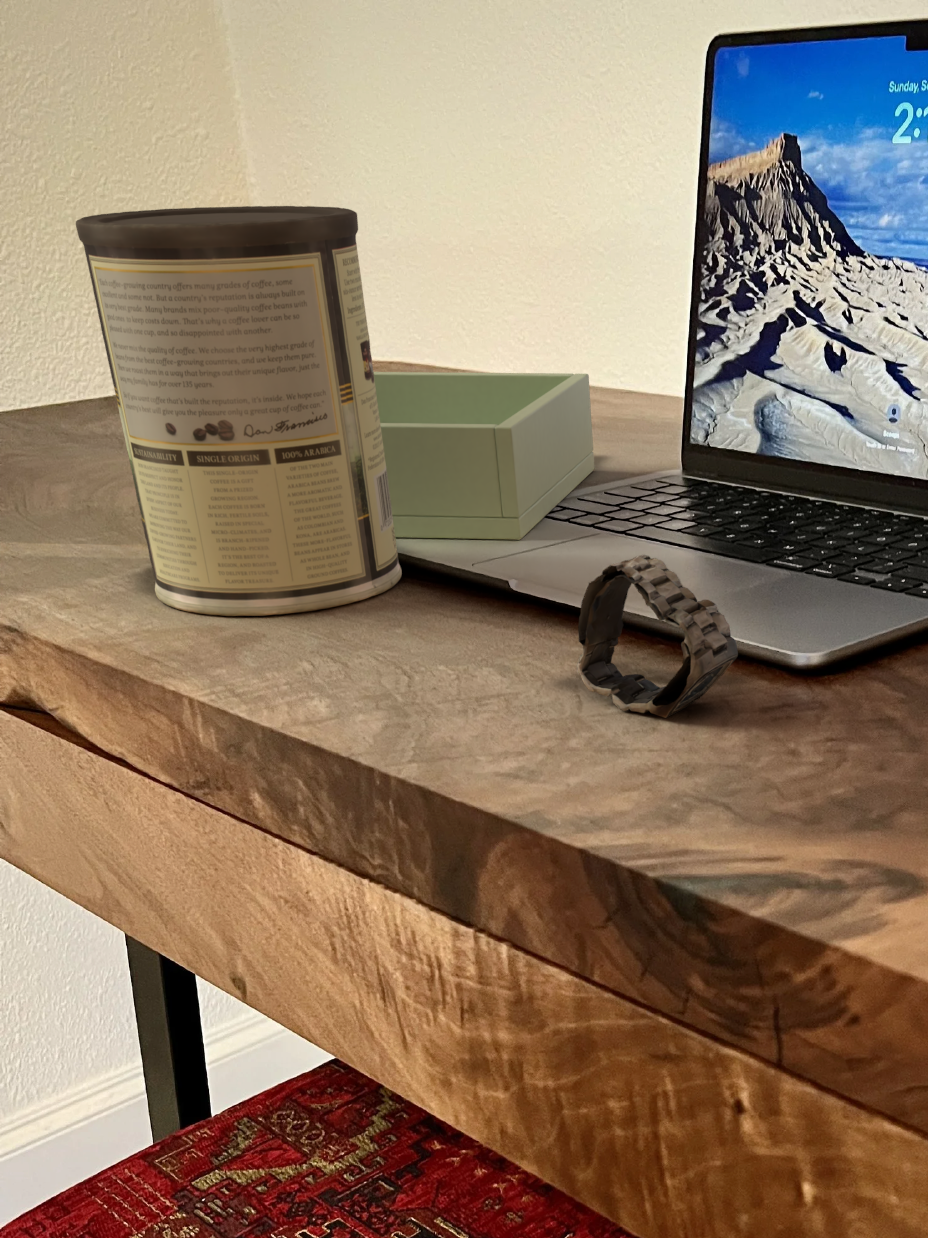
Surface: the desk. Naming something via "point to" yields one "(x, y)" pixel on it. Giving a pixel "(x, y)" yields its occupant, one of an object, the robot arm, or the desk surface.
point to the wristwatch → (671, 602)
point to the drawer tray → (481, 449)
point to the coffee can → (247, 404)
